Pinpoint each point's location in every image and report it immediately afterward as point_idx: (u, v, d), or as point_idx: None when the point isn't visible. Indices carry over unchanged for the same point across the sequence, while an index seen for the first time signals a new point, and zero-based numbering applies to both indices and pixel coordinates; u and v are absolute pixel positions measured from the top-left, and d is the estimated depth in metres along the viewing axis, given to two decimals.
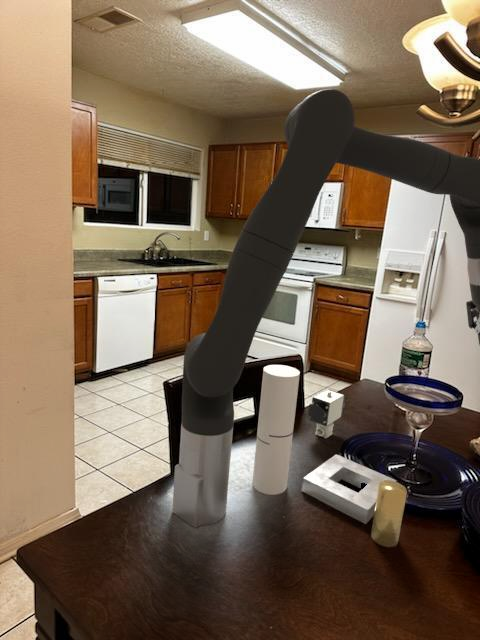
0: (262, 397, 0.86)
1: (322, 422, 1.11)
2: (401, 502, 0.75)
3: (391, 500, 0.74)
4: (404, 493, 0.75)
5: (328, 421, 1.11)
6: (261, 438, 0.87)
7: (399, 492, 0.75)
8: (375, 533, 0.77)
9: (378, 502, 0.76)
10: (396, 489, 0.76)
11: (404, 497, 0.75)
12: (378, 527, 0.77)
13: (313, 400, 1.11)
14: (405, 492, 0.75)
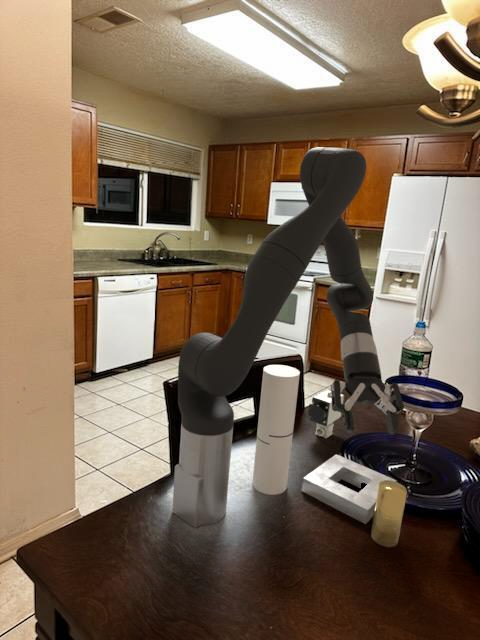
0: (262, 397, 0.86)
1: (322, 422, 1.11)
2: (401, 502, 0.75)
3: (391, 500, 0.74)
4: (404, 493, 0.75)
5: (328, 421, 1.11)
6: (261, 438, 0.87)
7: (399, 492, 0.75)
8: (375, 533, 0.77)
9: (378, 502, 0.76)
10: (396, 489, 0.76)
11: (404, 497, 0.75)
12: (378, 527, 0.77)
13: (313, 400, 1.11)
14: (405, 492, 0.75)
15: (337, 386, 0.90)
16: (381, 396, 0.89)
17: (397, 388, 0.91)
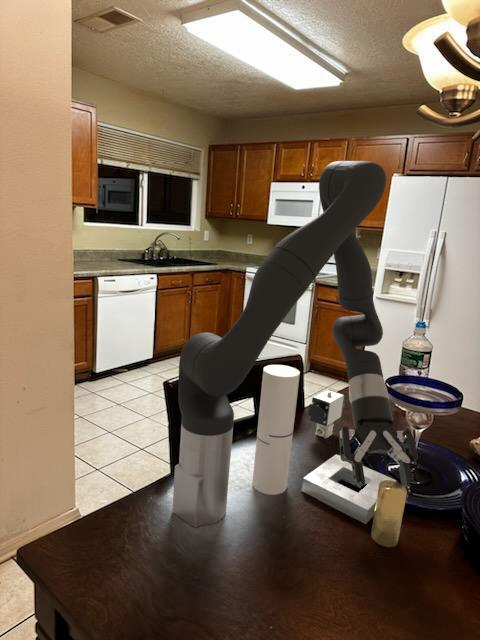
0: (262, 397, 0.86)
1: (322, 422, 1.11)
2: (401, 502, 0.75)
3: (391, 500, 0.74)
4: (404, 493, 0.75)
5: (328, 421, 1.11)
6: (261, 438, 0.87)
7: (399, 492, 0.75)
8: (375, 533, 0.77)
9: (378, 502, 0.76)
10: (396, 489, 0.76)
11: (404, 497, 0.75)
12: (378, 527, 0.77)
13: (313, 400, 1.11)
14: (405, 492, 0.75)
15: (346, 434, 0.83)
16: (393, 445, 0.82)
17: (410, 435, 0.84)
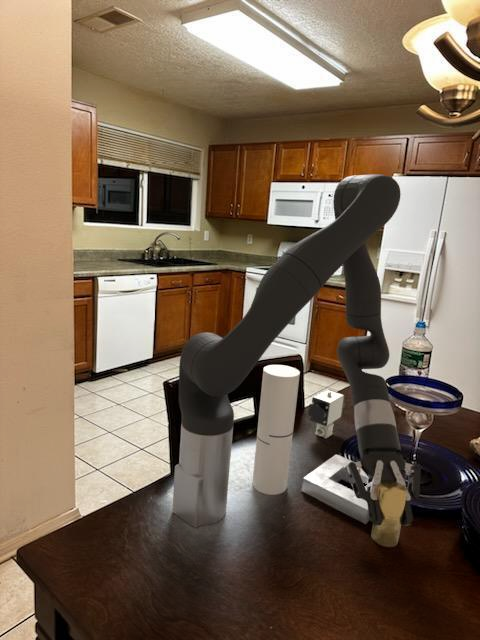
0: (262, 397, 0.86)
1: (322, 422, 1.11)
2: (401, 502, 0.75)
3: (391, 500, 0.74)
4: (404, 493, 0.75)
5: (328, 421, 1.11)
6: (261, 438, 0.87)
7: (399, 492, 0.75)
8: (375, 533, 0.77)
9: None
10: (397, 489, 0.76)
11: (404, 497, 0.75)
12: (378, 527, 0.77)
13: (313, 400, 1.11)
14: (405, 492, 0.75)
15: (354, 470, 0.79)
16: (398, 478, 0.78)
17: (418, 471, 0.80)
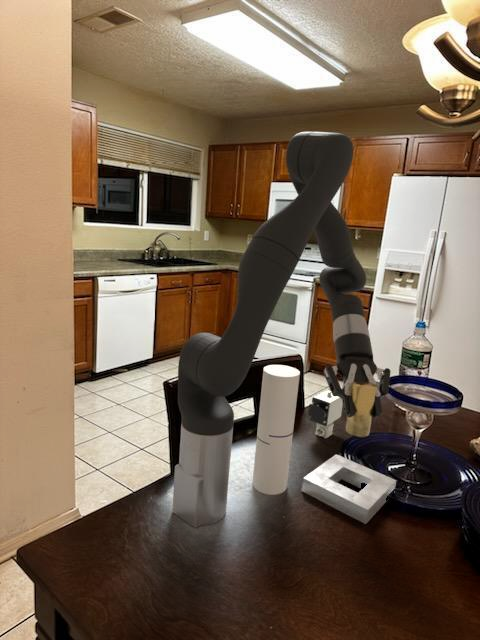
0: (262, 397, 0.86)
1: (322, 422, 1.11)
2: (371, 395, 0.84)
3: (362, 393, 0.84)
4: (374, 387, 0.85)
5: (328, 421, 1.11)
6: (261, 438, 0.87)
7: (369, 386, 0.85)
8: (349, 425, 0.87)
9: None
10: (367, 385, 0.86)
11: (374, 391, 0.85)
12: (351, 419, 0.86)
13: (313, 400, 1.11)
14: (375, 387, 0.85)
15: (331, 371, 0.89)
16: (369, 378, 0.88)
17: (388, 374, 0.90)
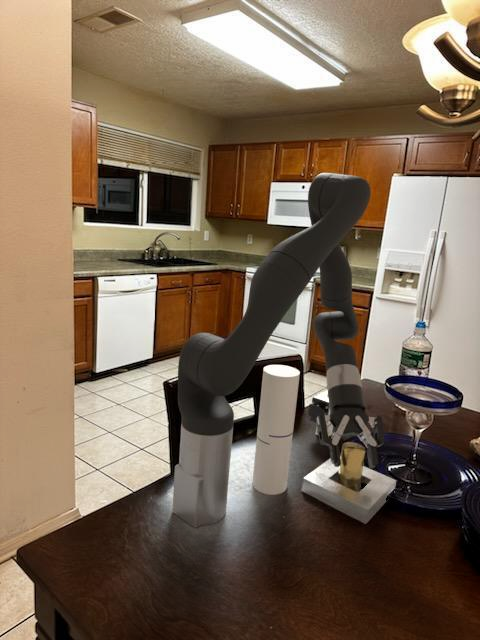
0: (262, 397, 0.86)
1: None
2: (360, 459, 0.88)
3: (352, 457, 0.87)
4: (363, 451, 0.88)
5: (328, 421, 1.11)
6: (261, 438, 0.87)
7: (358, 450, 0.88)
8: None
9: (341, 460, 0.89)
10: (357, 448, 0.89)
11: (363, 454, 0.88)
12: (341, 481, 0.90)
13: (313, 400, 1.11)
14: (364, 450, 0.88)
15: (322, 420, 0.91)
16: (363, 429, 0.91)
17: (380, 422, 0.93)
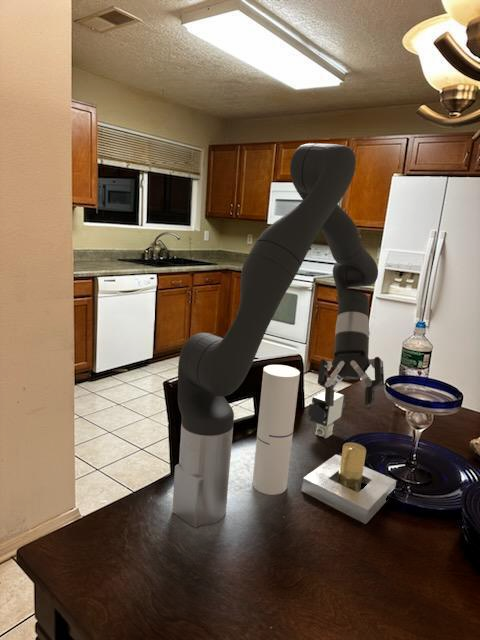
0: (262, 397, 0.86)
1: (322, 422, 1.11)
2: (361, 459, 0.87)
3: (352, 457, 0.87)
4: (363, 452, 0.88)
5: (328, 421, 1.11)
6: (261, 438, 0.87)
7: (359, 451, 0.88)
8: None
9: (342, 460, 0.89)
10: (357, 449, 0.89)
11: (363, 455, 0.88)
12: (341, 481, 0.89)
13: (313, 400, 1.11)
14: (364, 451, 0.88)
15: (322, 365, 1.01)
16: (358, 372, 0.95)
17: (378, 362, 0.94)
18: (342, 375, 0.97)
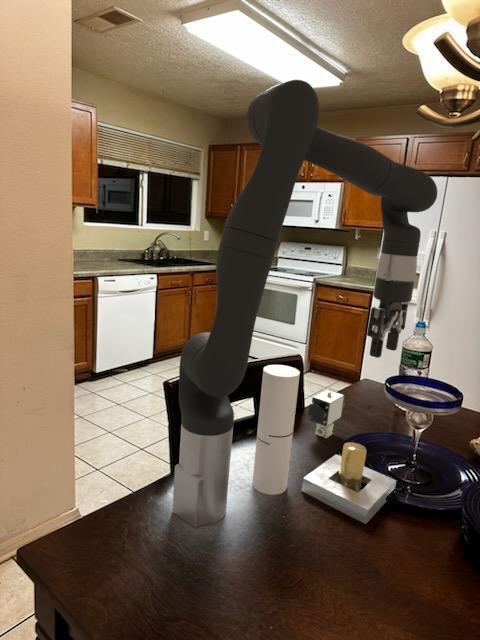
0: (262, 397, 0.86)
1: (322, 422, 1.11)
2: (361, 459, 0.87)
3: (353, 457, 0.87)
4: (364, 452, 0.88)
5: (328, 421, 1.11)
6: (261, 438, 0.87)
7: (359, 451, 0.88)
8: None
9: (342, 460, 0.89)
10: (358, 449, 0.89)
11: (364, 455, 0.88)
12: (342, 481, 0.89)
13: (313, 400, 1.11)
14: (365, 451, 0.88)
15: None
16: None
17: None
18: None
